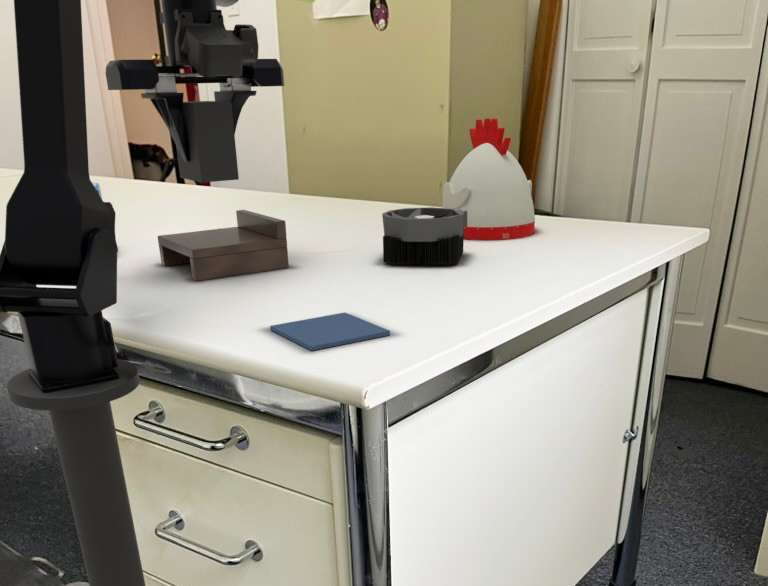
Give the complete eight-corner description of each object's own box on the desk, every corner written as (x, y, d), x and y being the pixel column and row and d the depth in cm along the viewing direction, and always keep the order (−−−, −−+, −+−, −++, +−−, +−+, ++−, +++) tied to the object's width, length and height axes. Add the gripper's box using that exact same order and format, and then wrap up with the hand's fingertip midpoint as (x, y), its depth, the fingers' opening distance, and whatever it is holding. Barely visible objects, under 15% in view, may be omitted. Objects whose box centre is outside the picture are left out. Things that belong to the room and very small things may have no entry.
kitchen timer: (493, 221, 127) (498, 115, 120) (554, 232, 117) (562, 117, 110) (421, 230, 121) (421, 119, 113) (478, 243, 110) (482, 122, 103)
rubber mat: (311, 350, 68) (310, 346, 68) (270, 330, 74) (269, 325, 74) (390, 335, 72) (390, 330, 72) (345, 316, 78) (345, 312, 78)
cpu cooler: (375, 217, 95) (390, 205, 104) (376, 266, 98) (390, 250, 107) (462, 218, 94) (470, 205, 102) (460, 268, 96) (468, 252, 105)
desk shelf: (196, 281, 93) (189, 231, 90) (161, 264, 102) (154, 218, 99) (289, 267, 99) (285, 220, 96) (248, 253, 108) (244, 209, 105)
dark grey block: (201, 182, 90) (192, 102, 87) (180, 177, 96) (170, 102, 92) (239, 179, 92) (231, 101, 89) (215, 174, 98) (207, 100, 94)
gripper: (124, -10, 75) (150, 170, 83) (301, -4, 84) (311, 158, 91) (92, 0, 84) (118, 163, 91) (256, 5, 92) (268, 153, 100)
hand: (206, 159), depth 93 cm, fingers closed on dark grey block, 4 cm apart
